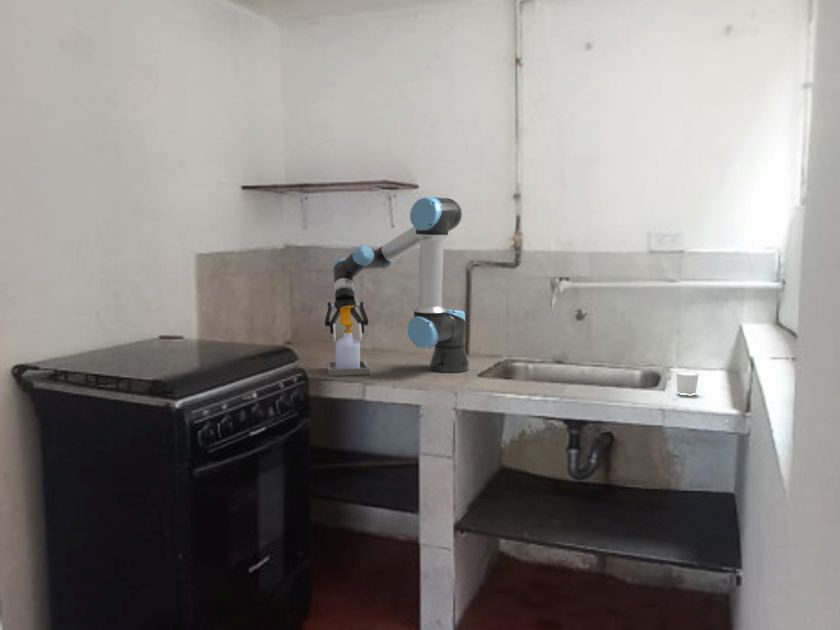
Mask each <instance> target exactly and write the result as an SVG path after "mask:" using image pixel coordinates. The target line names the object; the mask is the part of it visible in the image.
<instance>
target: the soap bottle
mask: <svg viewBox="0 0 840 630" xmlns="http://www.w3.org/2000/svg"><path fill="white" fill-rule="evenodd" d="M352 307H355V306H354V305H353V306H344V307H341V309H340V315H339V323H340V324H341V325H343V326H344V328H345V330H343V336H342V337H341V338H339V339H338V340H336V342H335V361H336V369H350V368H360V361H361V343H360V340H359V339H356V338H355V337H354V336H353V332H354V331H353V330H352V329H351V328H352V327H353V326H354V325H356V323H354V322H352V321H351V313H350V310H351V308H352ZM355 308H356V307H355Z"/></svg>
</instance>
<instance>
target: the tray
mask: <svg viewBox="0 0 840 630" xmlns="http://www.w3.org/2000/svg"><path fill="white" fill-rule="evenodd" d="M370 369H371V368H370V367H369V364H368V363H367V361H366V360H360V368H350V369H336V360H335V361H334V360H333V361H331V360H330V361H326V371H327V376H328V377H329V376H335V377H358V376H359V377H360V376H361V377H363V375H367V376H370V374H371V373H370V371H371V370H370Z"/></svg>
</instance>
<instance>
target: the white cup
mask: <svg viewBox="0 0 840 630" xmlns="http://www.w3.org/2000/svg"><path fill="white" fill-rule="evenodd" d="M675 374H676V393H677V392H679V393H687V394H692V393H697V386H698V380H699V373H697V372H694V371H677V372H676V373H675Z"/></svg>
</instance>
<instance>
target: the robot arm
mask: <svg viewBox="0 0 840 630" xmlns="http://www.w3.org/2000/svg"><path fill="white" fill-rule="evenodd" d="M462 218H463V217H462V209H461V206H460V205H459V203H458V202H456V200H454V199H452V198H449V197H435V196H426V197H421V198H419V199H417V200H416V202H415V203H414V204H413V205H412V207H411V208H410V212H409V219H410V223H411V224H412V227H411V228H409V229H406V230H405V231H404V232H403V233H401V234H399V235H398V236H396V237H395V238H393V239H391V240H390V241H388V242H386V243H385V244H383V245H382V246H380V247H378V248H377V249H371V247H370V246H368V245H364V244H362V245H360V246H358V247H357V248H355V249H354V250H353V252H352V253H350V254H349V256H347V257H346V258H345V257H341V258H339V259H336V260H335V261H334V263H333V266H332V267H333V268H332V269H333V270H332V273H333V283H334V284H333V285H334V300H335V301H334V302H330V301H328V302H327V311H326V316H325V320H324V326H325V327H329V333H330V334H331V335H333V343H336V342H337V332H336V330H337V329H336V323H337V321H338V318H340V309H341V307H344V306H353V305H354V306H355V307H352V308H351V310H350V316H352V317H353V318H354V320H355V321H356V322H357V324H358V335H359V336H358V338H359V339H358V340H359V342H362V341H363V334H364V333H365V326H369V319H368V316H367V314H366V311H365V308H364V302H363V301H360V302H356V301H357V300H355V299H356V298H355V288H354V286H355V285H354V278H355V277H356V276H357V275H358V274H359V273H361V272H362V271H363V270H372V269H373V270H375V269H386V268H389V267H391V266H392V265H393V264H394V262H395V261H396V260H398V259H399V258H401V257H403V256H404V255H407V254H408V253H410V252H411V251H414V250H415V249H416V248H418V247H419V254H418V255H419V256H418V257H419V262H418V263H419V264H418V265H419V267H418V297H417V298H418V301H417V303H418V304H417V307H415V308H414V309H413V317H412V318H411V319H410V321H409V322H408V324H407V327H406V328H407V331H406V332H407V335H408V338H409V340H410V341H411V342H412V343H413V344H414V345H415V346H416V347H417V348H421V349H424V348H425V349H426V348H427V349H429V348H430V349H431V348H433V347H434V348H433V353H432V355H431V359H430V361H429V370H430V371H433V372H437V373H462V372H466V371H469V370H470V363H469V358H468V356H467V353H466V349H465V345H466V313H465V312H464V311H463V310H456V309H455V310H454V309H445V308H444V307H443V305H442V304H443V277H444V276H443V273H444V272H443V271H444V270H443V269H444V242H445V240H446V238H447V237H449V232H450V231H452V230H453V229H455V228H457V227H458V225H459V224H460V222H461V221H462ZM356 307H357V308H358V310H359V313H360V314H359V313H358V312H357V310H356ZM334 308H336V311H335V312H334V315H333V316H332V318H331V314H332V310H333V309H334ZM360 315H361V316H360Z"/></svg>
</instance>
